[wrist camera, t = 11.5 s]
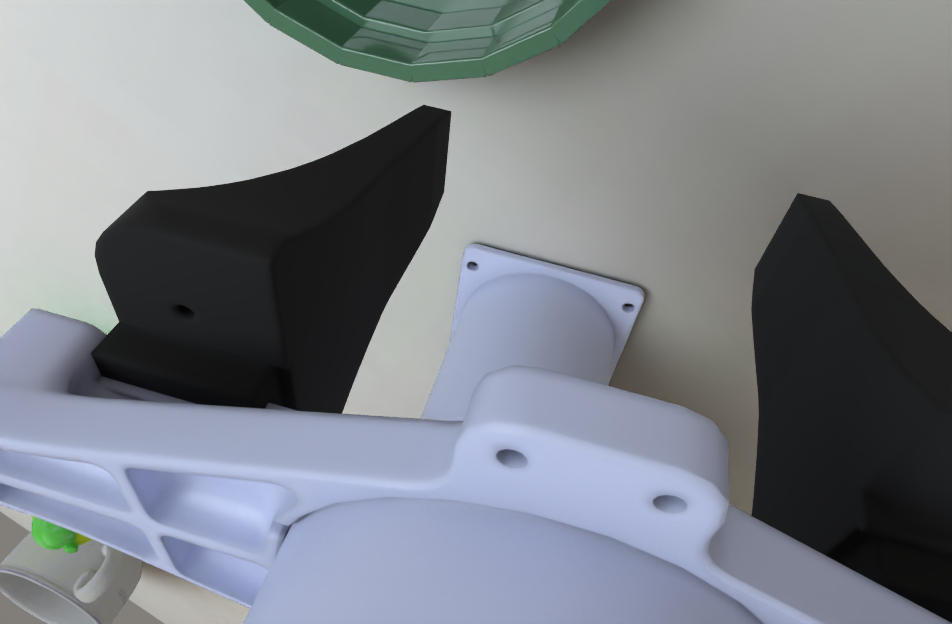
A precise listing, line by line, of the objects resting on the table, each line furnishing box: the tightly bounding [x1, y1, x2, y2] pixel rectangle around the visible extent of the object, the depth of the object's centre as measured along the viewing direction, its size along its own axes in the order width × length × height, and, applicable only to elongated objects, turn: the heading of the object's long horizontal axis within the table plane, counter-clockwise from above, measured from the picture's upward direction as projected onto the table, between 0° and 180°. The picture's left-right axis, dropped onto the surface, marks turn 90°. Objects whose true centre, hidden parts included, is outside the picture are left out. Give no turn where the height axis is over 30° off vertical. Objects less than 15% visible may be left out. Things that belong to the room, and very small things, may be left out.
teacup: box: [0, 531, 143, 624], centre depth 59 cm, size 14×11×8 cm
